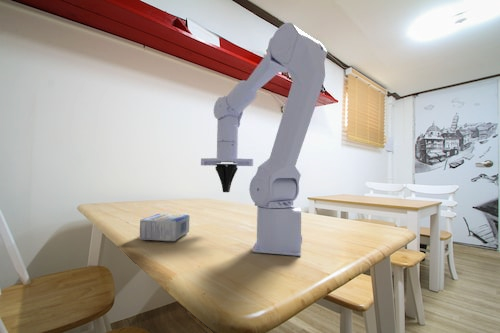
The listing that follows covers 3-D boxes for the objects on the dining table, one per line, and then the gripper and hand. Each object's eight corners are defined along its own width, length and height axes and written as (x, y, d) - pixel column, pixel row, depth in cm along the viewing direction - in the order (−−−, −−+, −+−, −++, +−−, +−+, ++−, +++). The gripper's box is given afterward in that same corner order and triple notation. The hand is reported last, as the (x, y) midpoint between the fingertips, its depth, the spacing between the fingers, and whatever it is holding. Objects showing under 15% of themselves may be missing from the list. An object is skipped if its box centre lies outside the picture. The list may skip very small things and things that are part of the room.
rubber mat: (186, 233, 57) (186, 231, 57) (172, 241, 50) (172, 239, 51) (163, 231, 58) (163, 230, 59) (146, 239, 52) (146, 237, 52)
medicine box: (176, 221, 49) (139, 219, 50) (175, 241, 49) (138, 239, 50) (190, 214, 57) (157, 213, 58) (189, 232, 57) (157, 230, 58)
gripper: (255, 144, 65) (254, 191, 65) (207, 144, 68) (206, 190, 67) (251, 141, 58) (250, 193, 58) (198, 141, 61) (197, 191, 60)
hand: (226, 192), depth 62 cm, fingers closed
